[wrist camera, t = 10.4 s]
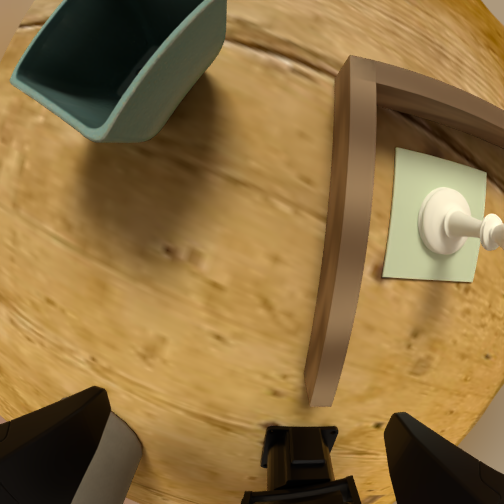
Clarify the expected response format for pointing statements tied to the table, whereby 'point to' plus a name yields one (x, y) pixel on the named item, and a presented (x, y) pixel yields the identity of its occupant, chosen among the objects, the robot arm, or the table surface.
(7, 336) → the table surface
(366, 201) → the corner wall
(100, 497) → the canister
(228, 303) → the table surface
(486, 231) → the chess piece
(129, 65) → the flower pot
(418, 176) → the pad
